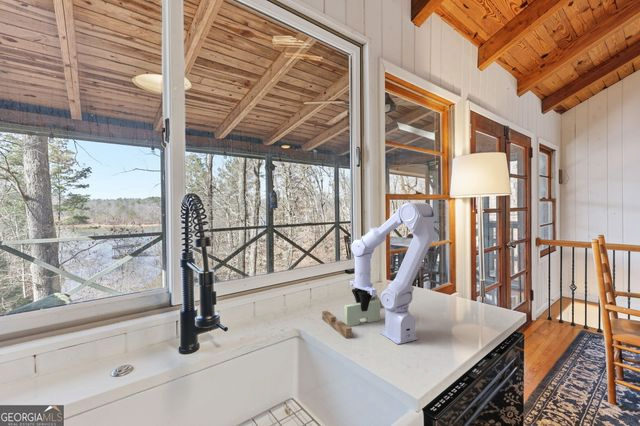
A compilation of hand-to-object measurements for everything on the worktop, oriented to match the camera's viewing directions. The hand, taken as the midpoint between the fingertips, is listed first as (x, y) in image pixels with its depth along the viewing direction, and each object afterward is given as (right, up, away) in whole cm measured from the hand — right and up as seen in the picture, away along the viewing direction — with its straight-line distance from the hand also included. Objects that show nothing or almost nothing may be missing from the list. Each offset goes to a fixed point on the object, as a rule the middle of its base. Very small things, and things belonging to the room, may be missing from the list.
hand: (362, 309), depth 107 cm
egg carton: (+5, -5, +17) cm, 19 cm away
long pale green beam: (0, -5, 0) cm, 5 cm away
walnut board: (-10, -5, -5) cm, 12 cm away
